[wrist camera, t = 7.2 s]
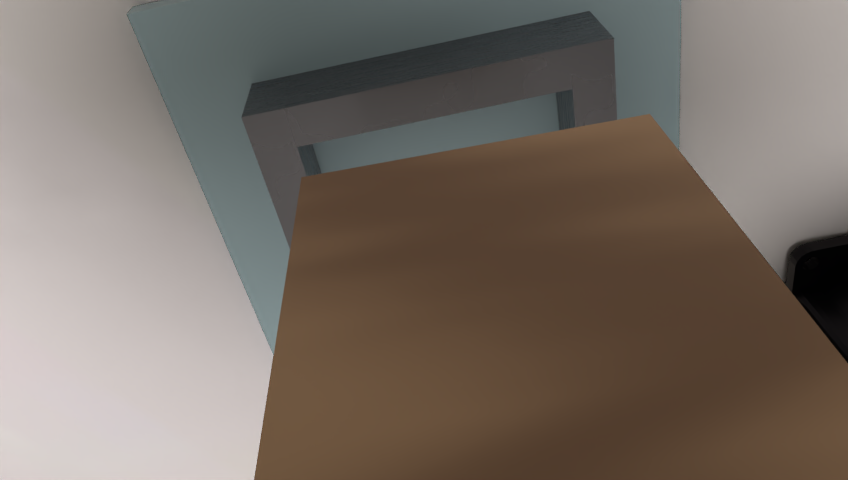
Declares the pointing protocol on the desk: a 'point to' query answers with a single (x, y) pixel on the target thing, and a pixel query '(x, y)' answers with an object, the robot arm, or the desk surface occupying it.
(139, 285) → the desk surface
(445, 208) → the walnut peg
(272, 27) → the socket holder
